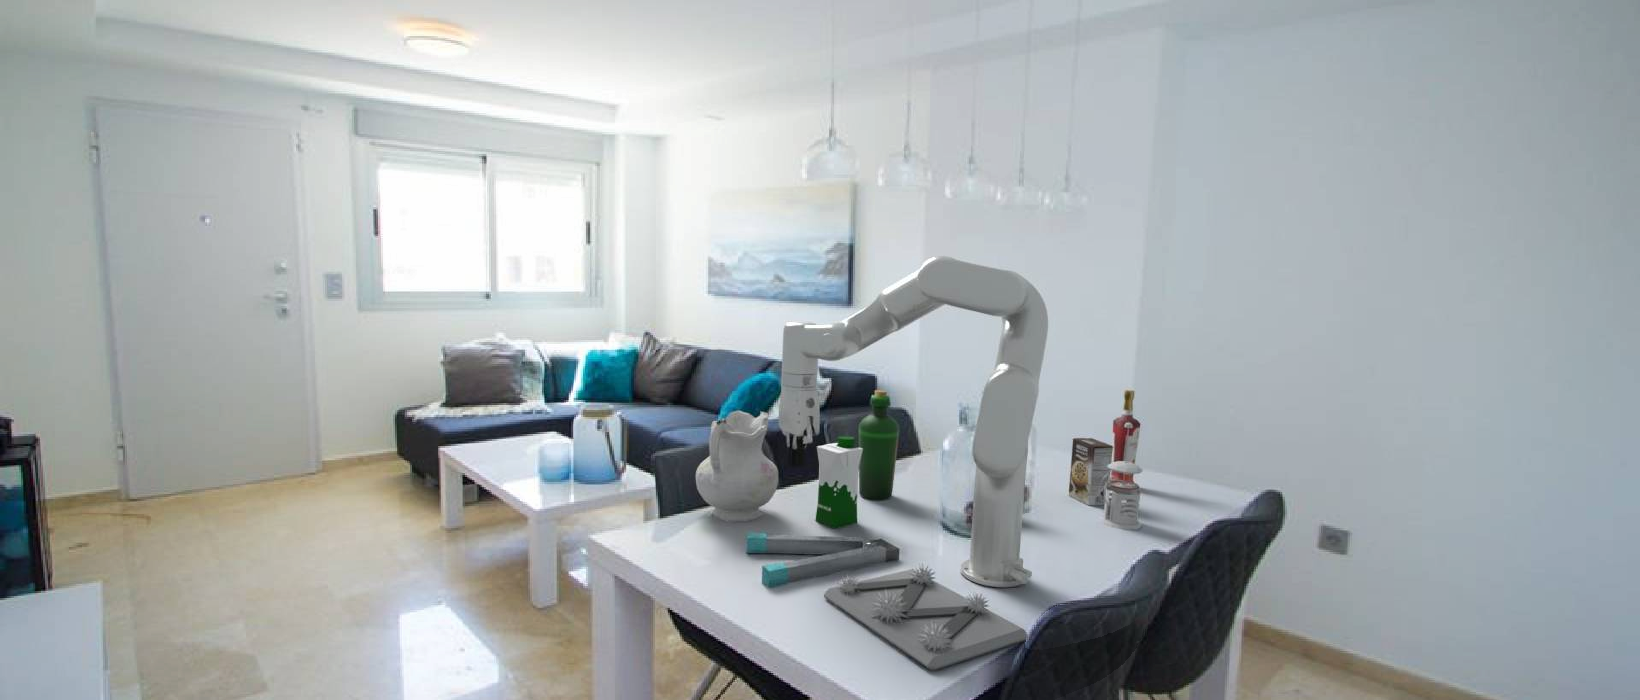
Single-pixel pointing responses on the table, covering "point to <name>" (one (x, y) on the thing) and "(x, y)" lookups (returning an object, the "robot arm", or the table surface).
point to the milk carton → (838, 482)
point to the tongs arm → (803, 544)
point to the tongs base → (828, 564)
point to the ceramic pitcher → (737, 468)
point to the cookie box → (1089, 470)
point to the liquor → (1125, 437)
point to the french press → (1122, 496)
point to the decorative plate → (925, 617)
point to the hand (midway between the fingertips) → (795, 465)
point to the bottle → (878, 449)
